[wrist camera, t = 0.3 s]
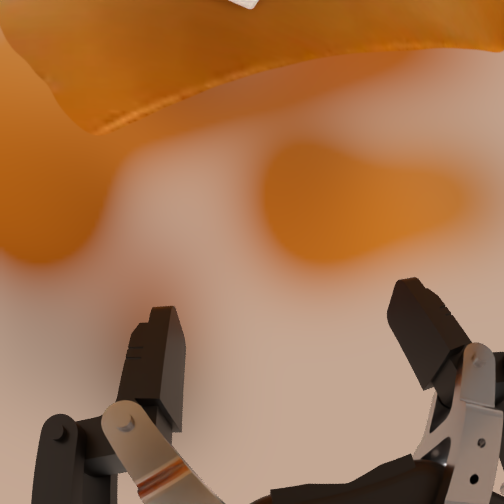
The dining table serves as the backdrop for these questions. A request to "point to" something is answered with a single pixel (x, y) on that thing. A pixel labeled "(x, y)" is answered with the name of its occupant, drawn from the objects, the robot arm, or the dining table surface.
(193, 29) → the dining table surface
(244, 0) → the medicine bottle
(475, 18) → the dining table surface
